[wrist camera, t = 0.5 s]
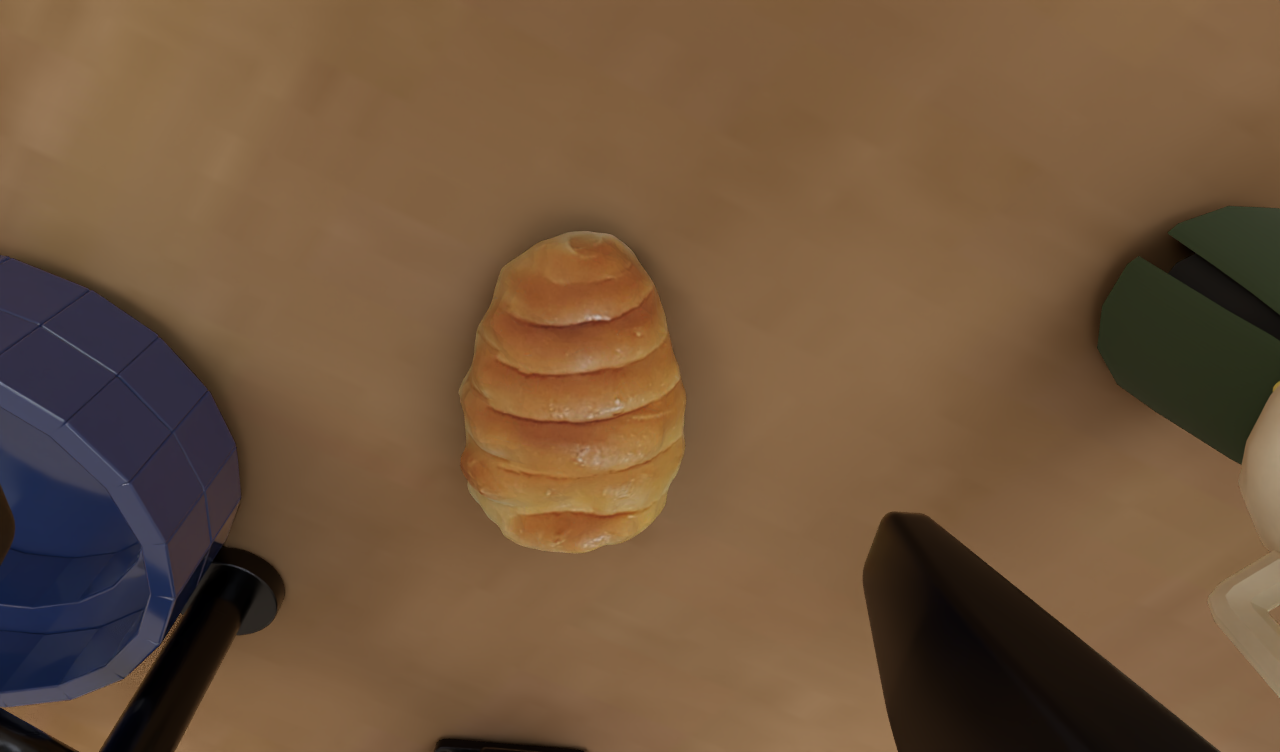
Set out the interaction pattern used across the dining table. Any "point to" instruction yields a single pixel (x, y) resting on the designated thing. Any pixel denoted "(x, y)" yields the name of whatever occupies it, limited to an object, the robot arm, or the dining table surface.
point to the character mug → (1216, 383)
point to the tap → (180, 659)
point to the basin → (98, 487)
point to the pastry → (573, 398)
